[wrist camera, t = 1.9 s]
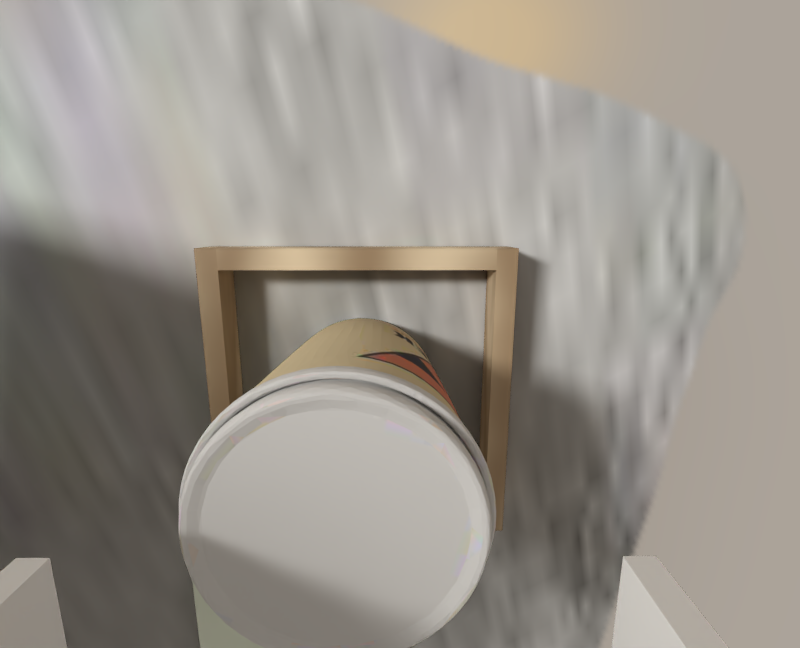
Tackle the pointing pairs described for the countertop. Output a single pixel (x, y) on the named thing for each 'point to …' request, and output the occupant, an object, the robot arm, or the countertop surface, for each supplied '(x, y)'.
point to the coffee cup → (339, 499)
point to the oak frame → (498, 262)
